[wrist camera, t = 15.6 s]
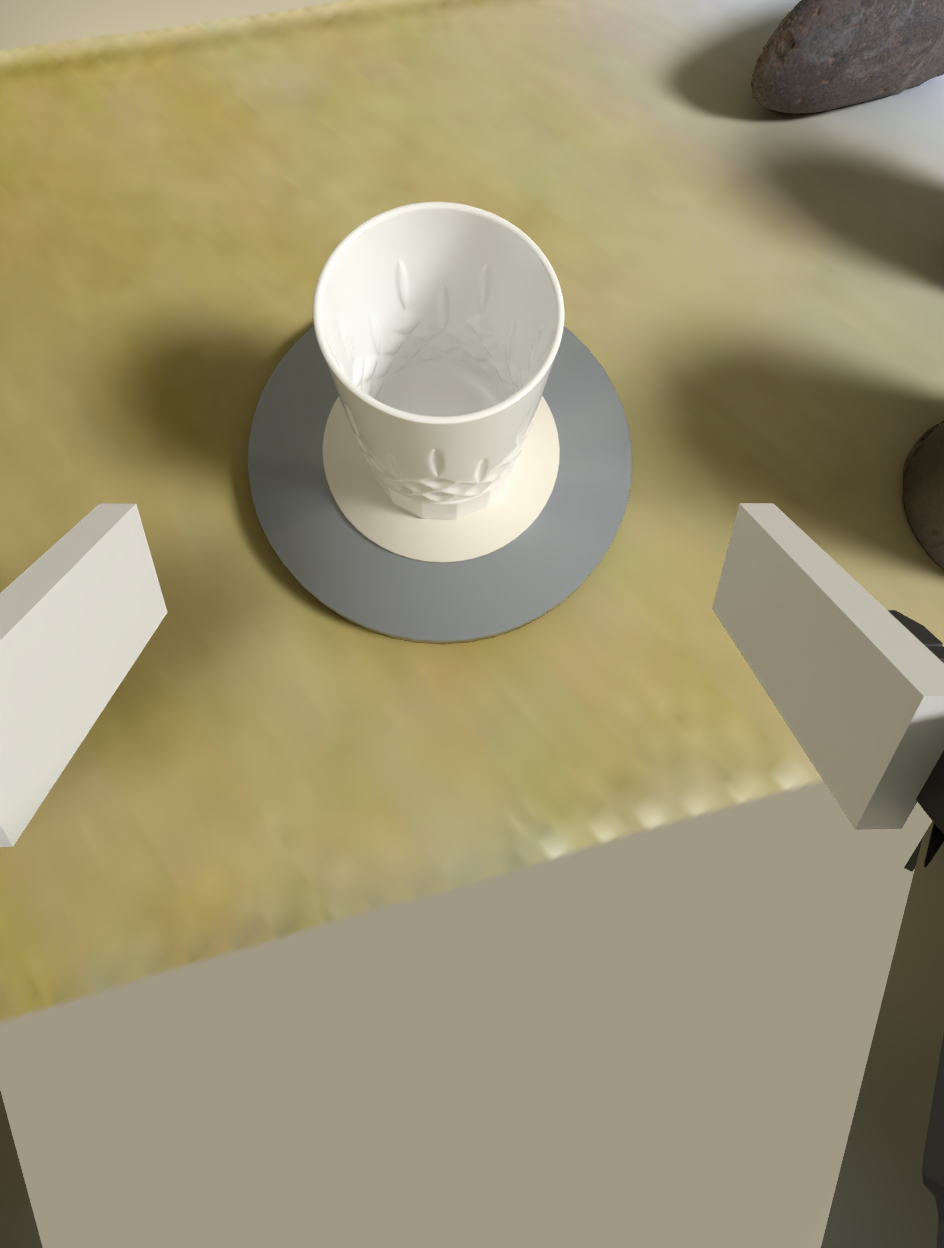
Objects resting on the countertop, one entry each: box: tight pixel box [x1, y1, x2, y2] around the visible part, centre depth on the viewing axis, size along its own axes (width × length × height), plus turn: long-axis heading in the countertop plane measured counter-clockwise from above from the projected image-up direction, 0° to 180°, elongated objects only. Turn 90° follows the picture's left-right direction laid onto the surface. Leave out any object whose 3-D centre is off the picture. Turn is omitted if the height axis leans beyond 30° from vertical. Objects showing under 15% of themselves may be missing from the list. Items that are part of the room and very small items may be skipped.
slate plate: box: [248, 326, 632, 644], centre depth 31 cm, size 18×18×2 cm
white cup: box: [313, 202, 564, 520], centre depth 25 cm, size 8×8×10 cm
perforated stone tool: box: [751, 0, 944, 114], centre depth 34 cm, size 15×5×7 cm, turn 111°
